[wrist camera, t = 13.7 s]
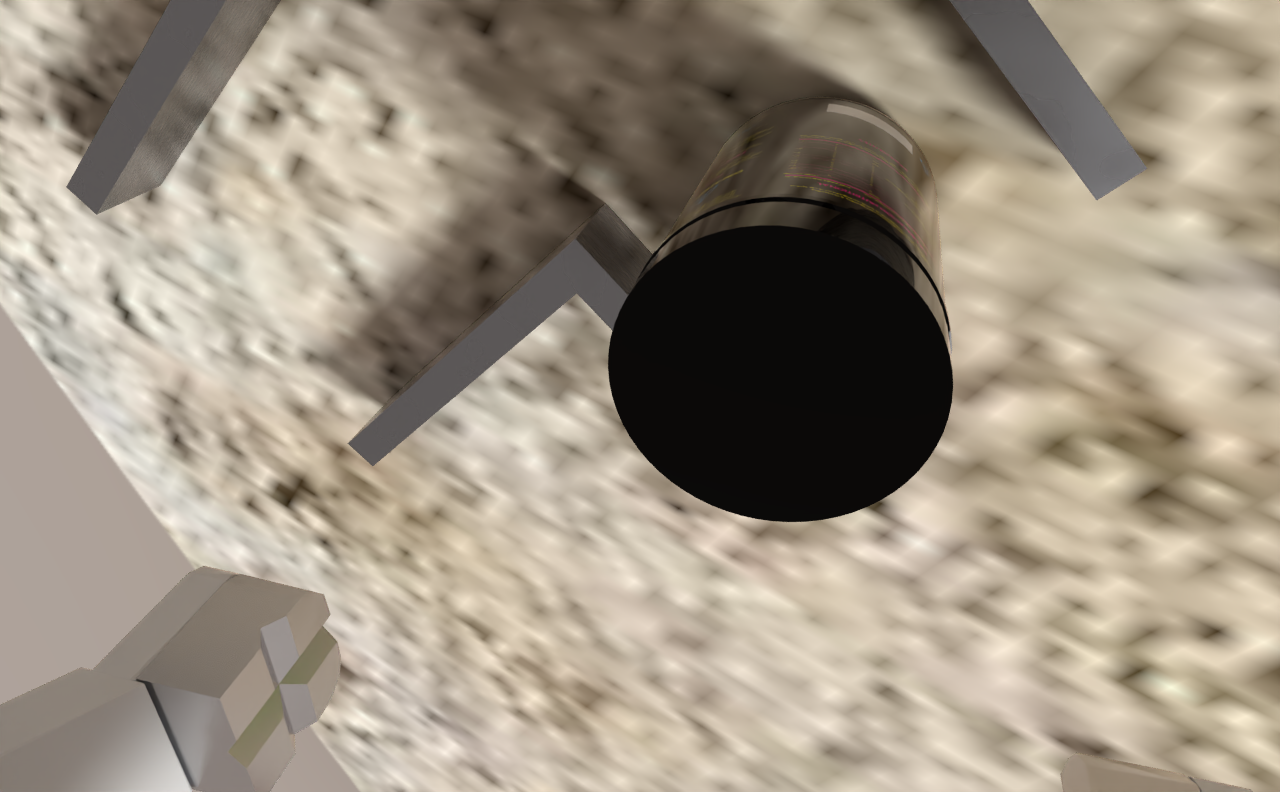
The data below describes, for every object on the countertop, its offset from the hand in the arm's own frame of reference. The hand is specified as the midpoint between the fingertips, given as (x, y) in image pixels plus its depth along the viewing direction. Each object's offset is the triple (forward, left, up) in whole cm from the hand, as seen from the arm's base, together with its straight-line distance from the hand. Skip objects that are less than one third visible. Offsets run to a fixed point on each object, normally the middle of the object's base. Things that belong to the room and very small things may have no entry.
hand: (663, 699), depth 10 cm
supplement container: (+1, -1, -19) cm, 19 cm away
